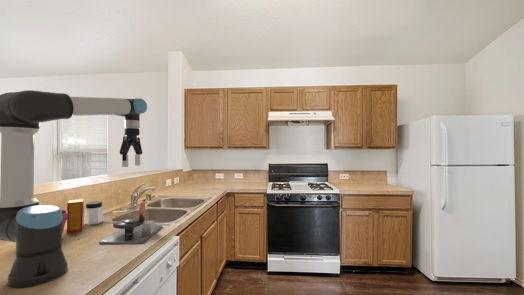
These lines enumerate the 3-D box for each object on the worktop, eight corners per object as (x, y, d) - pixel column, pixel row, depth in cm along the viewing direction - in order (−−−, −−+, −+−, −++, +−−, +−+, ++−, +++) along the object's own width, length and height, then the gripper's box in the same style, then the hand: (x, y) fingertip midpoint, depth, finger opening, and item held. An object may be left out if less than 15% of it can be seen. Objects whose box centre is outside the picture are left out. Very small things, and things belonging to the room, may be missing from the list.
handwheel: (147, 224, 135) (147, 197, 135) (142, 235, 119) (143, 204, 119) (118, 227, 130) (118, 199, 131) (109, 238, 114) (109, 206, 114)
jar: (84, 225, 138) (84, 204, 138) (85, 222, 145) (85, 202, 145) (102, 223, 143) (103, 203, 143) (102, 219, 150) (103, 200, 150)
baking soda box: (69, 227, 134) (69, 199, 134) (83, 225, 137) (84, 198, 138) (66, 232, 126) (67, 202, 126) (82, 230, 130) (82, 201, 130)
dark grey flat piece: (142, 243, 111) (143, 229, 111) (99, 244, 111) (99, 230, 111) (162, 227, 135) (162, 215, 135) (126, 227, 135) (126, 215, 135)
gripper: (136, 130, 146) (135, 164, 146) (112, 125, 121) (111, 167, 121) (148, 130, 146) (148, 164, 146) (127, 126, 121) (126, 167, 121)
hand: (131, 166), depth 133 cm, fingers open, 13 cm apart
